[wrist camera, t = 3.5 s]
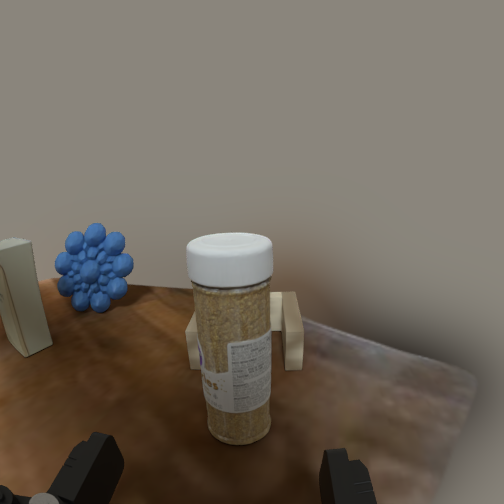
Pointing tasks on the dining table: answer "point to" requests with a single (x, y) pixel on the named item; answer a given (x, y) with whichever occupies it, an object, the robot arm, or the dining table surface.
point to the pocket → (281, 319)
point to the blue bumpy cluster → (93, 268)
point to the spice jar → (234, 331)
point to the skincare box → (21, 298)
